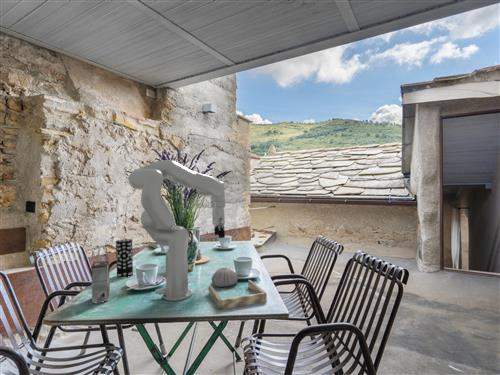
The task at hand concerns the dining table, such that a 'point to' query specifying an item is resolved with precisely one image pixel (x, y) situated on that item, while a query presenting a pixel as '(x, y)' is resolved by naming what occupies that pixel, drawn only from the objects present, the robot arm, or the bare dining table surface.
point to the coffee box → (100, 281)
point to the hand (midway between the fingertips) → (219, 236)
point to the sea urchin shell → (224, 277)
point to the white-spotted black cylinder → (124, 257)
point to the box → (241, 300)
